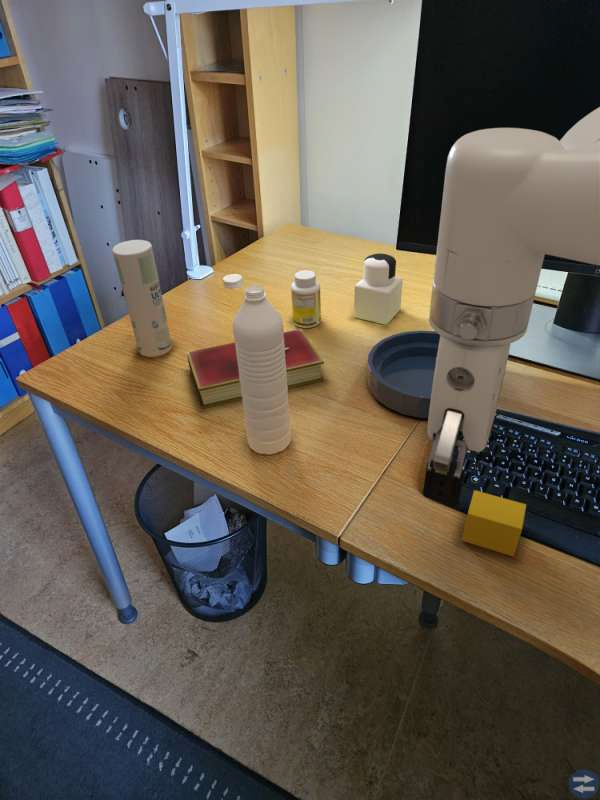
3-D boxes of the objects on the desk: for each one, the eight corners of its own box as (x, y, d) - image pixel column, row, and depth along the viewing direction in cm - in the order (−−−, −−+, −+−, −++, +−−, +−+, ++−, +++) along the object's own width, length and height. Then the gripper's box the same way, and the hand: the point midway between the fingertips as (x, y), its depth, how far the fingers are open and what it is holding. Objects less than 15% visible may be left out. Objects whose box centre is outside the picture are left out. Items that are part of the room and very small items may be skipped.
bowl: (496, 364, 97) (500, 342, 94) (474, 434, 83) (479, 410, 80) (387, 343, 103) (388, 322, 101) (350, 404, 89) (350, 381, 87)
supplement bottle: (307, 312, 114) (305, 265, 108) (326, 321, 111) (326, 273, 105) (287, 322, 111) (284, 274, 105) (306, 332, 108) (304, 283, 102)
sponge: (518, 531, 68) (526, 504, 65) (513, 556, 65) (522, 529, 62) (468, 517, 70) (474, 489, 67) (461, 541, 67) (467, 513, 64)
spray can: (167, 357, 103) (145, 254, 91) (133, 357, 103) (106, 255, 91) (176, 339, 108) (156, 239, 96) (143, 339, 108) (119, 239, 96)
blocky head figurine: (368, 302, 116) (371, 247, 109) (400, 310, 113) (405, 253, 106) (353, 317, 112) (354, 261, 104) (386, 325, 109) (390, 268, 101)
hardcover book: (189, 369, 99) (186, 349, 97) (301, 345, 104) (300, 326, 101) (202, 408, 90) (198, 387, 88) (324, 380, 95) (323, 360, 92)
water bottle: (300, 440, 83) (291, 286, 68) (267, 462, 80) (250, 305, 64) (261, 414, 88) (246, 267, 73) (229, 434, 85) (206, 283, 70)
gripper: (514, 375, 36) (475, 543, 46) (542, 268, 48) (506, 420, 59) (401, 353, 39) (388, 517, 49) (455, 256, 51) (435, 404, 61)
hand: (452, 464), depth 54 cm, fingers open, 9 cm apart
